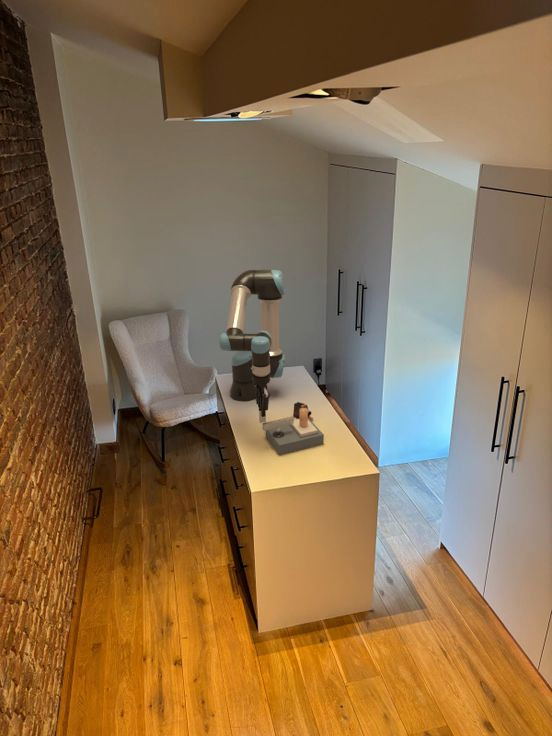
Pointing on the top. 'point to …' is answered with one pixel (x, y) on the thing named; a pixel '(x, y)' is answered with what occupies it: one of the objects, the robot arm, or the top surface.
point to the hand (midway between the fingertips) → (262, 421)
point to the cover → (304, 424)
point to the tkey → (278, 424)
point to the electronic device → (297, 408)
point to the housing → (293, 439)
